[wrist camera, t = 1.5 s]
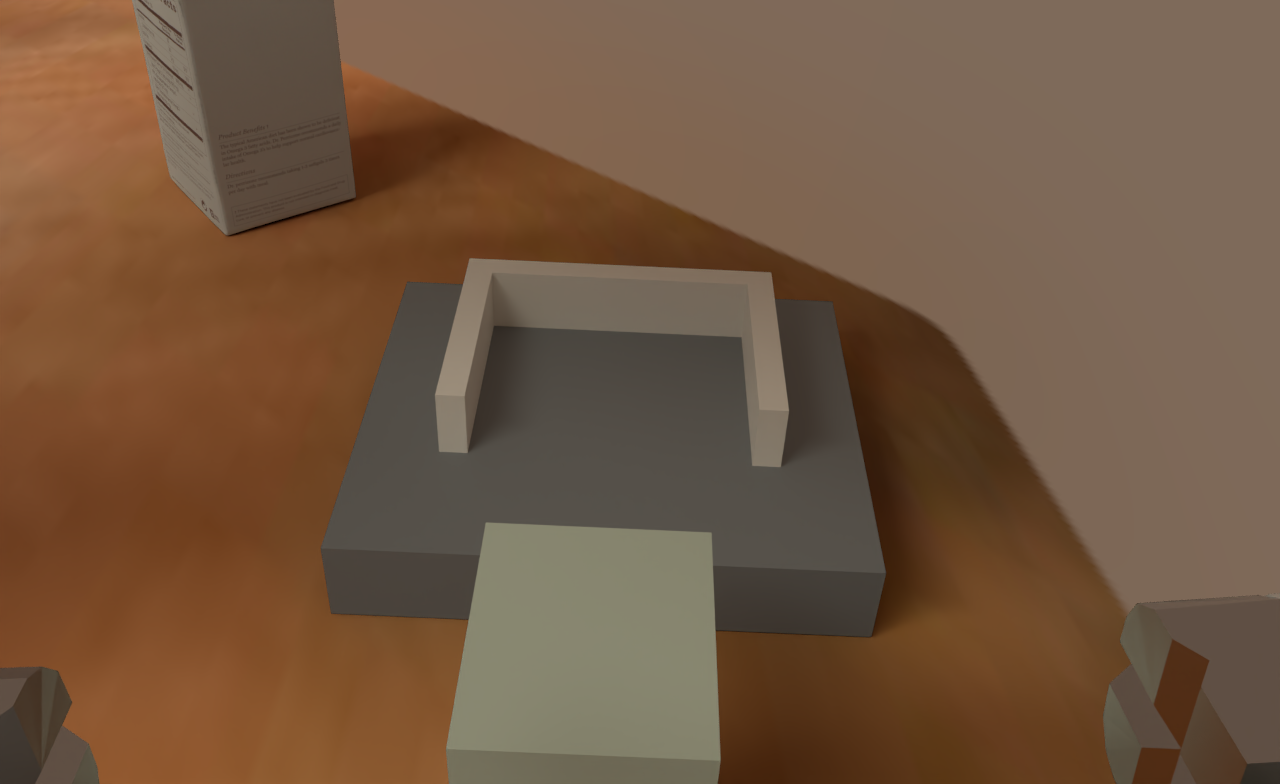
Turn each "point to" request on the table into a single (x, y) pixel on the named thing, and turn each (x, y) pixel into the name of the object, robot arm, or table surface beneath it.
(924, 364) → the table surface
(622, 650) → the pale green footed pillar
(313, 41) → the supplement box
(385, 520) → the dock
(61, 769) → the robot arm
